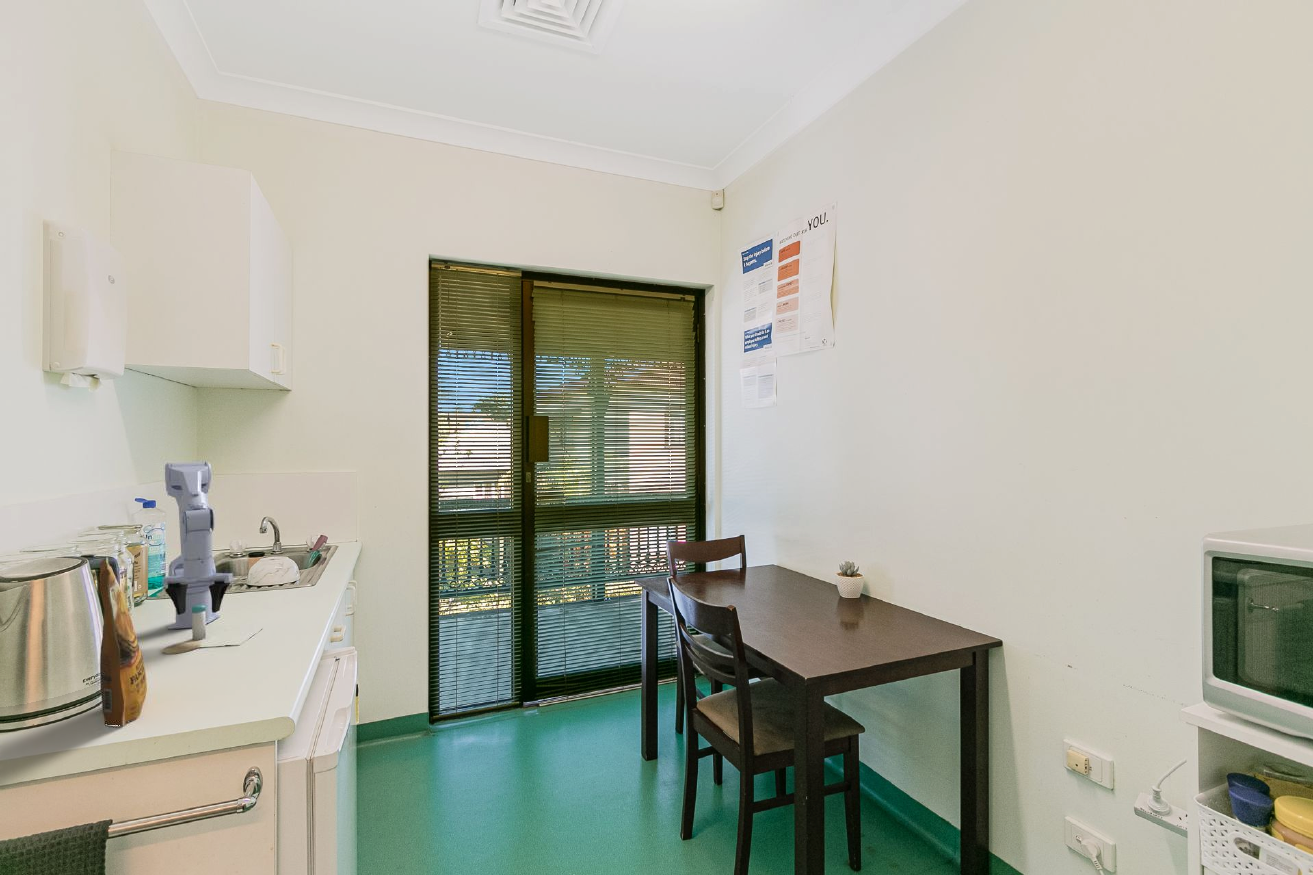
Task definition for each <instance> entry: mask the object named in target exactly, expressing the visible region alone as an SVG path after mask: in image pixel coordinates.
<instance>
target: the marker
mask: <svg viewBox="0 0 1313 875" xmlns="http://www.w3.org/2000/svg"><path fill="white" fill-rule="evenodd" d="M205 610H206V605H197V606H193V607H192V628H191V629H192V630H191V632H192V641H200V639H201V640H203V638H204V639H206V638H205V637H206V636H207V634H206V632H207V631H206V629H207V628H206V625H207V624H206V622H205Z"/></svg>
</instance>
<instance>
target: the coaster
mask: <svg viewBox="0 0 1313 875" xmlns="http://www.w3.org/2000/svg"><path fill="white" fill-rule="evenodd" d="M201 645H202V643H201V642H200V641H185V642H180V643H176V644H172V645H169V646H167V647H165V648H164V649H163V651H162V653H163V654H166V655H175V654H177V655H178V654H183V653H182V652H184V653H188V652H191V650H192V651H194V650H197V649H199V648H198V647H199V646H201ZM196 648H197V649H196ZM193 649H194V650H193Z"/></svg>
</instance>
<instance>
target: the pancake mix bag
mask: <svg viewBox="0 0 1313 875" xmlns="http://www.w3.org/2000/svg"><path fill="white" fill-rule="evenodd" d="M99 569H100V572H99V588H100V589H99V591H100V596H101V602H102V606H103V611H104V618H103V625H102V639H101V643H100V644H101V645H100V652H99V653H100V655H99V657H100V658H99V675H100V681H99V682H100V695H101V696H100V697H101V705H102V706H101V707H102V714H103V717H104V724H107V725H118V726H119V725H120V726H121V727H124V726H125V725H126V724H127V723H126V722H128V721H130V722H132V720H133V721H135V720H137V719H138V718H139V717H140V716H141V713H142V709H143V705H144V702H145V700H144V699H146V695H147V691H148V688H147V686H148V685H147V674H146V667H145V664H144V659H143V654H142V651H141V647H140V643H139V641H137V640H138V639H137V638H138V637H137V634H136V631H135V627H134V624H133V621H132V616H131V614H130V612H129V610H128V606H127V602H126V600H125V597H124V594H123V591H122V589H121V587H120V584H119V582H118V580H117V577H116V575H115V573H114V571H113V567H112V566H110V564H109V556H105V557H104V559H103V560H102V561H100V563H99ZM138 643H139V644H138ZM139 715H140V716H139ZM138 716H139V717H138ZM134 719H135V720H134ZM125 723H126V724H125ZM128 723H129V722H128ZM124 724H125V725H124ZM123 725H124V726H123Z"/></svg>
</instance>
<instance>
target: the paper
mask: <svg viewBox="0 0 1313 875" xmlns="http://www.w3.org/2000/svg"><path fill="white" fill-rule="evenodd" d="M225 631H226V630H224V632H225ZM221 633H222V632H220V633H219V634H221ZM215 639H216V640H215ZM217 639H218V640H217ZM232 639H233V640H232ZM235 639H240V640H235ZM241 639H248V640H250V639H249V638H232V637H231V638H230V637H229V638H228V637H227V638H217V637H215V636H213V637H212V638H210V639H209V640H207V641H206V642H204V643H201V646H199V647H207V648H218V647H217V645H219V646H222V647H226V646H225V645H238V646H241V645H240V644H234V643H243V642H238V641H245V642H247V641H246V640H241ZM217 641H218V642H217ZM222 641H225V642H222ZM232 641H237V642H232ZM214 643H216V644H214ZM223 643H224V644H223ZM225 643H226V644H225ZM232 643H233V644H232ZM243 644H244V643H243ZM213 645H214V646H213ZM215 645H216V646H215ZM199 647H198V648H197V649H200V648H199Z"/></svg>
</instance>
